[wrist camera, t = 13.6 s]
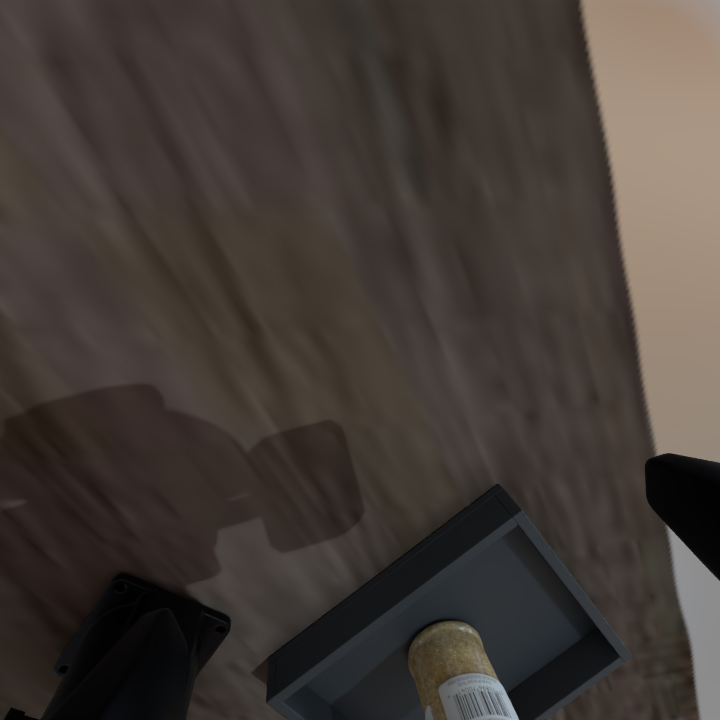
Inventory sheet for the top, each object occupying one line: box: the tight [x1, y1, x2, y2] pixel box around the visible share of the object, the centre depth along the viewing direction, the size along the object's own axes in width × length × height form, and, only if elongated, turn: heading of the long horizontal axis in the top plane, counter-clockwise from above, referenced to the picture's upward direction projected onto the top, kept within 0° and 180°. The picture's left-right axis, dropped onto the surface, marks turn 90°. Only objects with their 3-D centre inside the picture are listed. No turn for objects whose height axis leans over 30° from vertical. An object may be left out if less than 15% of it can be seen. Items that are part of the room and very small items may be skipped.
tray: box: [266, 484, 632, 720], centre depth 24 cm, size 16×13×2 cm
